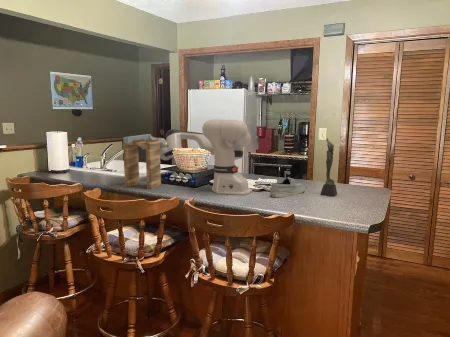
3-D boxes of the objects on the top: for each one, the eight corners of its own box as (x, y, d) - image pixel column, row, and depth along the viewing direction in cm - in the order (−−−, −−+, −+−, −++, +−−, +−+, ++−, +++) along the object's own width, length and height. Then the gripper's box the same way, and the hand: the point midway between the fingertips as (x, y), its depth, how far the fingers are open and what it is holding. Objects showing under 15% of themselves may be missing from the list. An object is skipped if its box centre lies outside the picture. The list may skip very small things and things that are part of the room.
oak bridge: (160, 185, 212) (159, 139, 207) (151, 189, 203) (149, 141, 198) (135, 183, 218) (133, 138, 213) (125, 186, 209) (122, 140, 204)
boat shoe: (308, 191, 199) (309, 175, 197) (282, 200, 181) (283, 182, 180) (293, 188, 205) (294, 173, 204) (267, 196, 187) (267, 180, 186)
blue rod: (151, 139, 220) (151, 134, 219) (128, 142, 198) (127, 137, 198) (147, 139, 221) (146, 134, 220) (123, 142, 200) (123, 137, 199)
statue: (334, 196, 187) (337, 139, 181) (320, 195, 190) (322, 138, 185) (337, 193, 193) (340, 138, 188) (323, 192, 196) (326, 137, 191)
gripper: (169, 151, 223) (158, 142, 211) (141, 149, 230) (129, 140, 218) (171, 142, 225) (160, 132, 213) (143, 140, 232) (131, 131, 220)
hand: (144, 136), depth 215 cm, fingers open, 6 cm apart
